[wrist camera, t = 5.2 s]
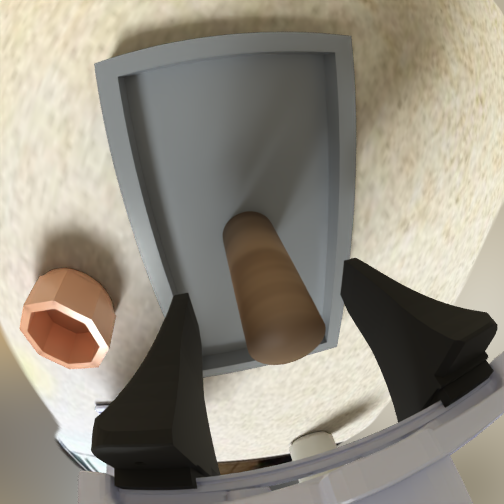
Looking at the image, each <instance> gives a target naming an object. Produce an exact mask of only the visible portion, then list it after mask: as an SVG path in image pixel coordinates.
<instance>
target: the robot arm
mask: <svg viewBox="0 0 504 504" xmlns="http://www.w3.org/2000/svg"><path fill="white" fill-rule="evenodd" d="M340 295H341V297H342V300H343V302H344V304H345V306H346V308H347V311H348V313H349V314H350V316H351V317H352V319H353V321H354V322H355V324H356V326H357V327H358V329H359V330H360V332H361V333H362V335H363V337H364V338H365V340H366V342H367V343H368V345H369V346H370V348H371V350H372V352H373V354H374V356H375V358H376V360H377V362H378V365H379V367H380V369H381V372H382V374H383V377H384V379H385V382H386V384H387V387H388V390H389V393H390V396H391V399H392V402H393V405H394V408H395V412H396V415H397V419H398V423H397V424H394V425H392V426H390V427H388V428H386V429H383V430H381V431H379V432H377V433H374V434H372V435H370V436H367V437H365V438H362V439H360V440H357V441H354V442H352V443H349V444H346V445H344V446H341V447H338V448H335V449H332V450H329V451H326V452H323V453H320V454H317V455H313V456H310V457H306V458H303V459H299V460H296V461H292V462H288V463H284V464H280V465H275V466H271V467H266V468H262V469H256V470H251V471H246V472H240V473H233V474H227V475H220V472H219V468H218V464H217V460H216V456H215V452H214V447H213V443H212V438H211V433H210V428H209V423H208V418H207V412H206V406H205V400H204V391H203V369H202V344H201V337H200V330H199V325H198V322H197V319H196V315H195V312H194V309H193V306H192V303H191V300H190V297H189V293H183V294H178V295H174V296H173V298H172V301H171V304H170V307H169V309H168V312H167V314H166V317H165V319H164V322H163V324H162V326H161V328H160V331H159V333H158V335H157V337H156V339H155V341H154V343H153V345H152V347H151V349H150V351H149V353H148V354H147V356H146V358H145V359H144V361H143V363H142V364H141V366H140V367H139V369H138V370H137V372H136V373H135V375H134V376H133V378H132V379H131V380H130V382H129V383H128V384H127V386H126V387H125V388H124V389H123V390H122V392H121V393H120V394H119V395H118V396H117V397H116V399H115V400H114V401H113V402H112V403H111V404H110V405H103V406H95V411H96V412H98V413H99V414H100V415H99V416H97V417H96V418H95V422H94V426H93V433H92V447H91V451H92V453H93V454H94V455H95V456H96V457H97V458H98V459H100V460H101V461H103V462H105V463H106V464H107V474H106V473H99V472H89V471H79V475H78V476H79V477H78V478H79V479H78V504H473V502H472V500H471V498H470V495H469V493H468V491H467V489H466V487H465V485H464V483H463V481H462V479H461V477H460V475H459V472H458V471H457V468H456V466H455V464H454V463H453V461H452V459H451V457H450V455H451V454H453V453H454V452H455V451H457V450H458V449H460V448H461V447H463V446H464V445H465V444H466V443H468V442H469V441H471V440H472V439H473V438H475V437H476V436H477V435H478V434H480V433H481V432H482V431H483V430H485V429H486V428H487V427H488V426H489V425H491V424H492V423H493V422H494V421H495V420H496V419H498V418H499V417H500V416H501V415H502V414H503V413H504V352H502V353H501V354H500V355H499V356H497V357H496V358H495V359H494V360H493V361H492V362H491V363H490V364H488V362H487V361H486V359H487V358H488V355H487V354H486V352H485V350H486V349H487V347H488V345H489V344H490V342H491V341H492V339H493V338H494V336H495V334H496V331H497V324H496V323H495V321H494V320H493V319H492V318H491V317H490V315H489V314H488V313H486V312H480V311H474V310H469V309H464V308H460V307H456V306H453V305H449V304H446V303H443V302H440V301H437V300H435V299H432V298H429V297H427V296H425V295H422V294H420V293H418V292H416V291H414V290H412V289H410V288H408V287H406V286H404V285H402V284H400V283H398V282H396V281H395V280H393V279H391V278H389V277H388V276H386V275H384V274H383V273H381V272H379V271H378V270H376V269H374V268H373V267H371V266H369V265H368V264H366V263H364V262H362V261H361V260H359V259H357V258H353V259H348V260H344V265H343V275H342V284H341V292H340ZM386 447H387V448H386ZM363 457H364V458H363ZM358 459H359V460H358ZM353 461H354V462H353ZM348 463H349V464H348ZM345 464H347V465H345ZM343 465H344V466H343ZM340 466H342V467H340ZM337 467H339V468H337ZM334 468H337V469H335V470H333V471H331V472H329V473H327V474H324V475H322V476H319V477H316V478H313V479H310V480H307V481H304V482H301V483H298V484H295V485H292V486H289V487H285V488H282V489H278V490H274V491H271V489H270V488H268V486H273V485H278V484H281V483H286V482H290V481H294V480H298V479H302V478H305V477H309V476H312V475H315V474H319V473H322V472H325V471H328V470H331V469H334ZM264 487H266V488H264Z"/></svg>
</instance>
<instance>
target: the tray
mask: <svg viewBox="0 0 504 504" xmlns="http://www.w3.org/2000/svg"><path fill="white" fill-rule="evenodd" d="M94 65H95V73H96V80H97V86H98V92H99V98H100V104H101V109H102V114H103V119H104V124H105V129H106V134H107V138H108V143H109V147H110V152H111V156H112V160H113V164H114V168H115V172H116V176H117V179H118V183H119V187H120V190H121V194H122V198H123V201H124V204H125V208H126V211H127V214H128V218H129V221H130V224H131V227H132V230H133V234H134V237H135V240H136V243H137V246H138V249H139V252H140V254H141V257H142V260H143V263H144V266H145V269H146V271H147V274H148V277H149V279H150V282H151V285H152V287H153V290H154V293H155V295H156V298H157V300H158V303H159V305H160V308H161V310H162V313H163V315H164V317H166V314H167V312H168V309H169V307H170V304H171V301H172V298H173V296H174V295H178V294H183V293H189V297H190V300H191V303H192V306H193V309H194V312H195V315H196V319H197V322H198V325H199V330H200V337H201V344H202V369H203V378H204V377H210V376H216V375H222V374H227V373H232V372H238V371H243V370H247V369H252V368H257V367H261V366H266V365H268V364H263V363H260V362H258V361H256V360H254V359H253V358H252V357H251V356H250V354H249V352H248V349H247V345H246V341H245V336H244V332H243V328H242V324H241V319H240V315H239V311H238V306H237V302H236V298H235V293H234V289H233V284H232V280H231V275H230V271H229V266H228V262H227V257H226V252H225V248H224V243H223V230H224V227H225V225H226V224H227V222H228V221H229V220H230V219H231V218H232V217H234V216H235V215H237V214H240V213H242V212H248V211H253V212H258V213H261V214H263V215H265V216H266V217H267V218H268V219H269V220H270V222H271V223H272V225H273V227H274V229H275V231H276V232H277V234H278V236H279V238H280V240H281V242H282V243H283V245H284V247H285V249H286V251H287V253H288V254H289V256H290V258H291V260H292V262H293V264H294V266H295V267H296V269H297V271H298V273H299V275H300V277H301V279H302V281H303V282H304V284H305V286H306V288H307V290H308V292H309V294H310V296H311V298H312V300H313V302H314V303H315V305H316V307H317V309H318V311H319V313H320V315H321V317H322V319H323V321H324V323H325V327H326V331H325V335H324V338H323V340H322V341H321V343H320V344H319V345H318V346H317V348H315V349H314V350H313V351H312V352H311V353H309V354H308V355H310V354H313V353H317V352H321V351H324V350H328V349H331V348H334V347H337V344H338V338H339V332H340V326H341V320H342V314H343V307H344V302H343V300H342V297H341V295H340V292H341V284H342V275H343V265H344V260H348V259H350V250H351V240H352V228H353V215H354V199H355V177H356V97H355V77H354V62H353V50H352V39H351V36H346V35H336V34H325V33H308V32H257V33H240V34H228V35H219V36H210V37H203V38H196V39H189V40H184V41H178V42H173V43H168V44H163V45H158V46H154V47H150V48H145V49H141V50H138V51H134V52H130V53H127V54H123V55H120V56H116V57H113V58H110V59H107V60H104V61H101V62H98V63H95V64H94Z"/></svg>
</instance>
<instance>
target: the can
mask: <svg viewBox="0 0 504 504" xmlns="http://www.w3.org/2000/svg"><path fill="white" fill-rule="evenodd" d="M335 448H337V446H336V444H335V441H334V439H333V436H332V434H329V433H326V432H324V431H321V432H314V433H311V434H308V435H305V436H303V437H300V438H298V439H297V440H295V441H294V442H293V444H292V445H291V447H290V449H289V451H290V454H291V457H292V461H296V460H299V459H303V458H306V457H310V456H313V455H317V454H320V453H323V452H326V451H329V450H332V449H335ZM343 466H344V465H343ZM340 467H342V466H340ZM337 468H339V467H337ZM337 468H334V469H331V470H328V471H325V472H322V473H319V474H315V475H312V476H309V477H305V478H302V479H298V480H299V483H301V482H304V481H307V480H310V479H313V478H316V477H319V476H322V475H324V474H327V473H329V472H331V471H333V470H335V469H337Z"/></svg>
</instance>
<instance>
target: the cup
mask: <svg viewBox="0 0 504 504" xmlns="http://www.w3.org/2000/svg"><path fill="white" fill-rule="evenodd" d="M115 318H116V315H115V313H114V310H113V304H112V301H111V298H110V296H109V295H108V293H107V292H106V290H105V289H104V288H103V287H102V286H101V285H100V284H99V283H98V282H97V281H96V280H95V279H93V278H92V277H90V276H89V275H87V274H85V273H83V272H80V271H78V270H74V269H69V268H58V269H54V270H51V271H49V272H47V273H46V274H45V275H43V276H39V278H38V280H37V281H36V283H35V285H34V287H33V289H32V290H31V292H30V294H29V296H28V298H27V300H26V301H25V303H24V305H23V311H22V317H21V323H20V330H21V332H22V333H23V334H24V336H25V337H26V338H27V340H28V341H29V342H30V344H31V345H32V346H33V348H34V349H35V350H36V352H37V353H38V354H39V355H41V356H43V357H45V358H47V359H49V360H51V361H53V362H55V363H57V364H60V365H62V366H64V367H66V368H68V369H81V368H95V367H99V365H100V363H101V362H102V360H103V358H104V357H105V355H106V353H107V352H108V350H109V349H110V343H111V338H112V333H113V328H114V323H115Z"/></svg>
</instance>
